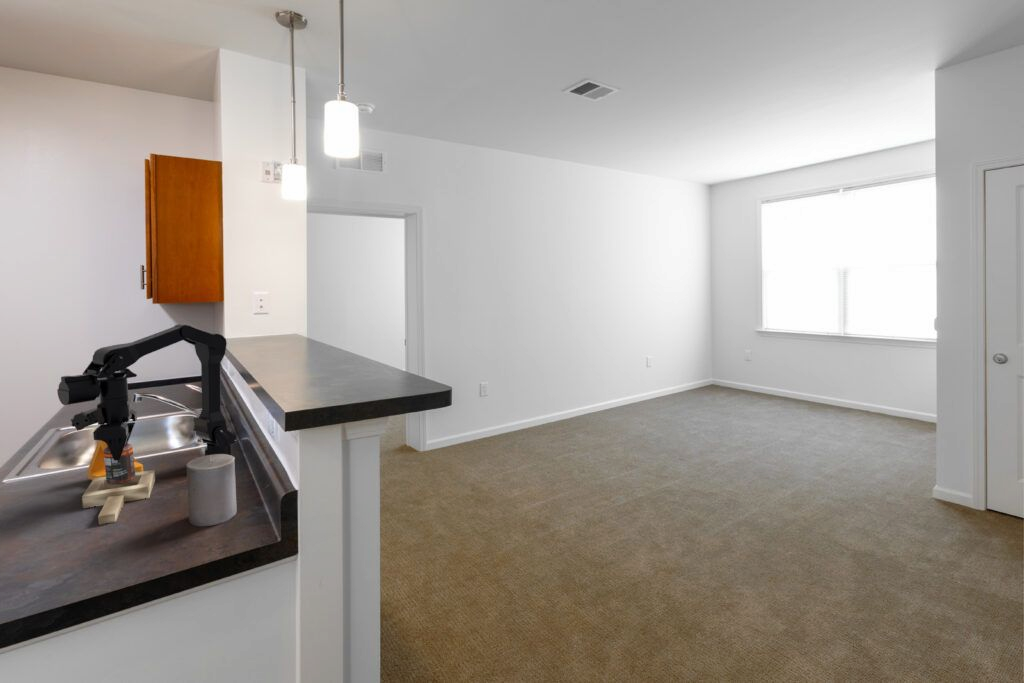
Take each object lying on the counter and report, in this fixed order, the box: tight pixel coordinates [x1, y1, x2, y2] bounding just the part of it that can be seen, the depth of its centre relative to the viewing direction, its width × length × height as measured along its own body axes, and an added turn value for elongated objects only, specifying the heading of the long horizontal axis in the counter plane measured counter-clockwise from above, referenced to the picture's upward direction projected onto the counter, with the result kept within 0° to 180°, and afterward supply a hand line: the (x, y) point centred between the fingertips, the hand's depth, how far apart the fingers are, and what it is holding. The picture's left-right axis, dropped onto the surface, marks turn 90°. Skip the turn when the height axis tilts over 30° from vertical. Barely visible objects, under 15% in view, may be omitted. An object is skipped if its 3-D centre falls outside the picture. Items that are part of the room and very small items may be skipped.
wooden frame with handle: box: [81, 469, 156, 526], centre depth 125 cm, size 13×25×3 cm, turn 30°
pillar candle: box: [186, 454, 238, 527], centre depth 117 cm, size 10×10×15 cm
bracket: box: [86, 440, 144, 482], centre depth 140 cm, size 11×7×12 cm, turn 147°
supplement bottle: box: [104, 441, 135, 484], centre depth 129 cm, size 6×6×11 cm
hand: (119, 456), depth 129 cm, fingers closed on supplement bottle, 6 cm apart
